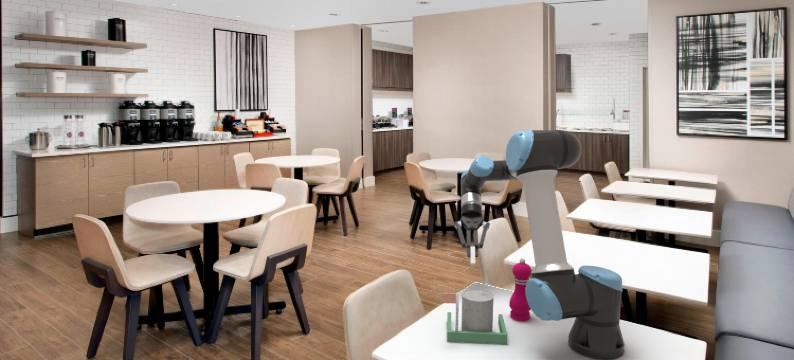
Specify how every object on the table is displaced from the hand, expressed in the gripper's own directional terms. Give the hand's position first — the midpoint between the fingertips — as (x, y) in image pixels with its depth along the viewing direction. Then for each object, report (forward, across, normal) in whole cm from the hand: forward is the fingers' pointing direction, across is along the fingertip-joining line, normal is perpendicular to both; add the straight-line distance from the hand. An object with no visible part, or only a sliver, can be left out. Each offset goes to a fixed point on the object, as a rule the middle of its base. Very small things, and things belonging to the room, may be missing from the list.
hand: (472, 264), depth 176 cm
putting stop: (+25, +1, +5) cm, 26 cm away
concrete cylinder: (+26, 0, +5) cm, 27 cm away
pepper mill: (+17, -15, -4) cm, 23 cm away
